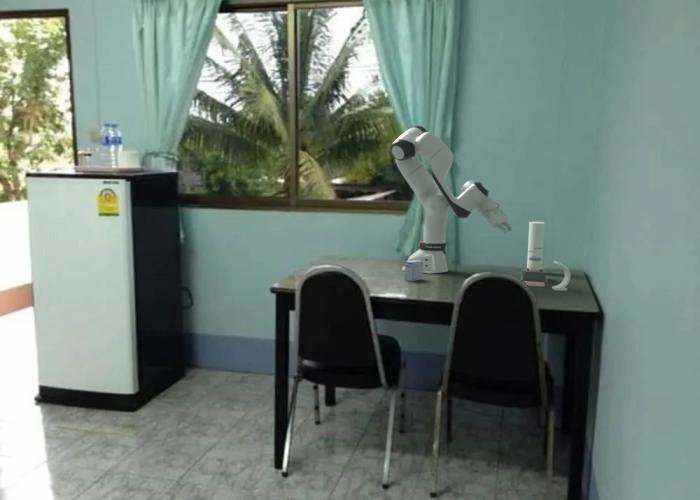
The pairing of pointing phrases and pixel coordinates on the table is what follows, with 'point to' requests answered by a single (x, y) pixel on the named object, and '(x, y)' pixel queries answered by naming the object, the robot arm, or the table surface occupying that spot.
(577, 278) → the table surface
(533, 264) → the filter cartridge
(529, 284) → the mat
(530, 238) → the cylindrical container
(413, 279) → the medicine box
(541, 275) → the filter housing
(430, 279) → the table surface
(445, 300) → the table surface
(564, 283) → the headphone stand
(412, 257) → the robot arm
